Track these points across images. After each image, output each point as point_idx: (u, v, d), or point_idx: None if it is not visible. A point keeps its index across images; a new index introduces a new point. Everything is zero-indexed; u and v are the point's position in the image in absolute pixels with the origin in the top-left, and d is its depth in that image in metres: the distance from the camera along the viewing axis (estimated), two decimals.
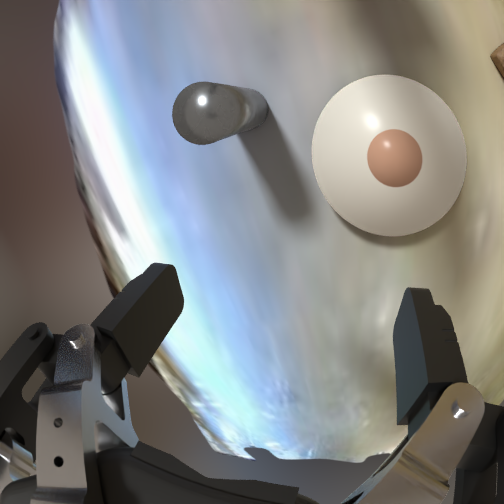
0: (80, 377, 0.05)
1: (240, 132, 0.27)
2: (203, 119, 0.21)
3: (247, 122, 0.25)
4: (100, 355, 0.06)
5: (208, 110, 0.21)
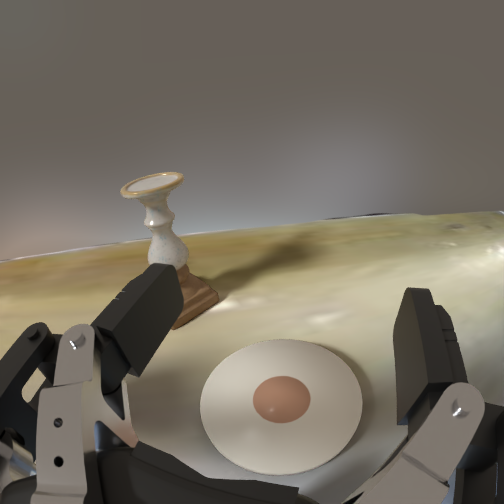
0: (80, 377, 0.05)
1: None
2: None
3: None
4: (100, 355, 0.06)
5: None
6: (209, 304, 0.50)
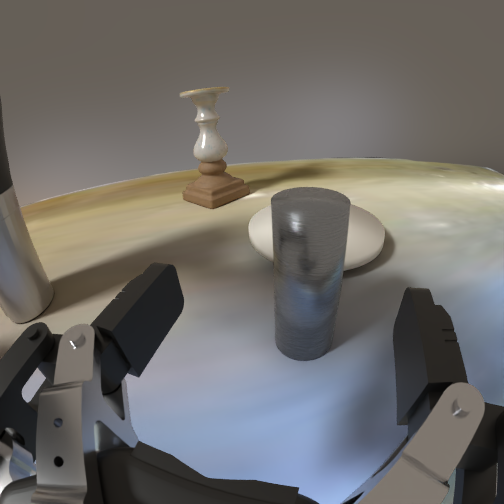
0: (80, 377, 0.05)
1: None
2: (317, 198, 0.19)
3: None
4: (100, 355, 0.06)
5: (306, 196, 0.19)
6: (242, 193, 0.60)
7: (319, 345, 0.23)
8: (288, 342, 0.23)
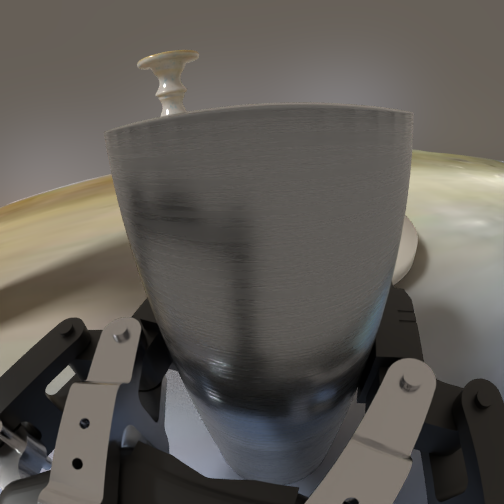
0: (117, 376, 0.05)
1: None
2: None
3: None
4: (147, 349, 0.07)
5: (248, 105, 0.05)
6: None
7: (300, 473, 0.09)
8: (234, 465, 0.09)
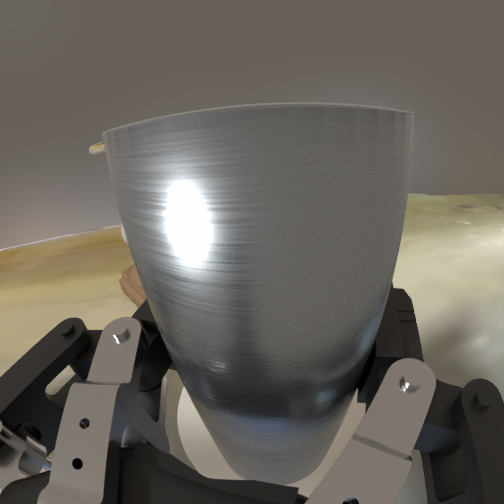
0: (117, 376, 0.05)
1: None
2: (285, 103, 0.05)
3: None
4: (147, 349, 0.07)
5: (247, 105, 0.05)
6: None
7: (300, 473, 0.09)
8: (234, 466, 0.09)
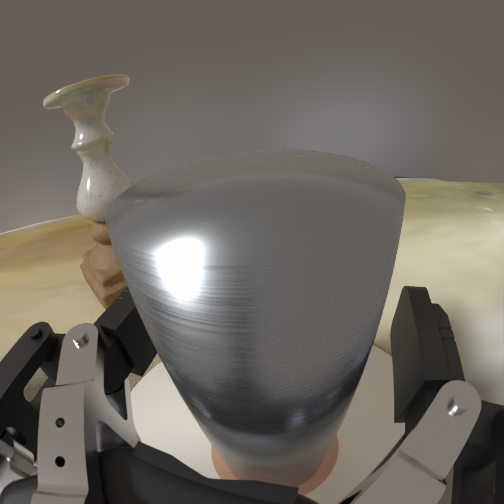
0: (83, 377, 0.05)
1: None
2: (280, 173, 0.05)
3: None
4: (104, 354, 0.06)
5: (243, 170, 0.06)
6: None
7: (296, 481, 0.09)
8: (236, 475, 0.10)
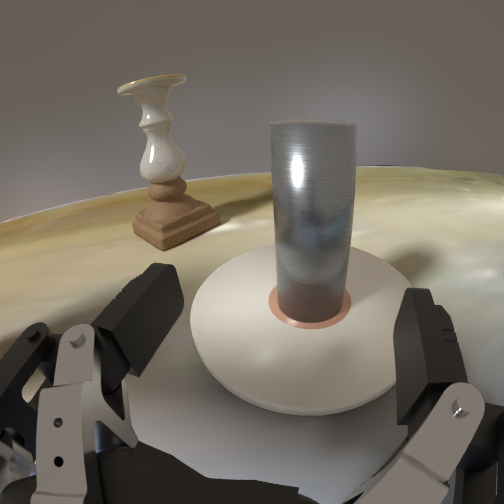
0: (80, 377, 0.05)
1: None
2: (320, 121, 0.16)
3: None
4: (100, 355, 0.06)
5: (307, 121, 0.16)
6: (208, 225, 0.43)
7: (329, 302, 0.20)
8: (292, 298, 0.20)
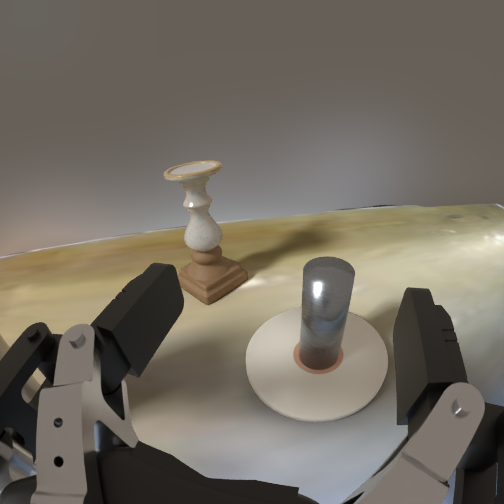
0: (80, 377, 0.05)
1: None
2: (333, 269, 0.29)
3: None
4: (100, 355, 0.06)
5: (326, 267, 0.29)
6: (239, 281, 0.56)
7: (330, 360, 0.33)
8: (309, 358, 0.33)
